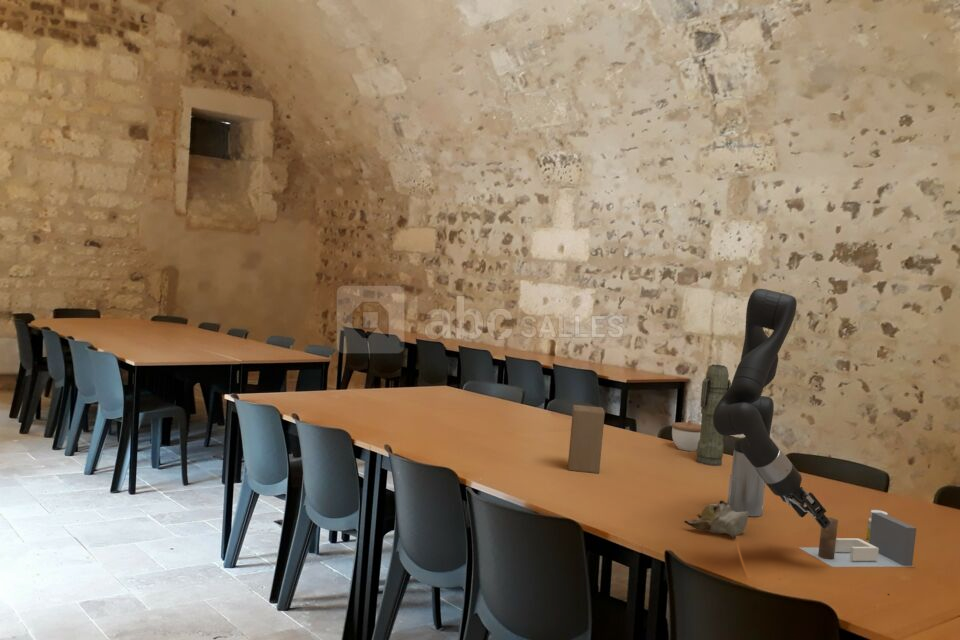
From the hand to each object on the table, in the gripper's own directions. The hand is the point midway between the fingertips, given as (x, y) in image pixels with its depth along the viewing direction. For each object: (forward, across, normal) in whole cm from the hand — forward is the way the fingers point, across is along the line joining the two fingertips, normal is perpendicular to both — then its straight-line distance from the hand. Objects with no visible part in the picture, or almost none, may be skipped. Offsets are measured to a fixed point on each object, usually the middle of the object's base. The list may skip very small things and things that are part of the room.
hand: (815, 520), depth 197 cm
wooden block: (-11, +86, +25) cm, 90 cm away
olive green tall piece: (+26, +99, -12) cm, 103 cm away
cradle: (+14, 0, -2) cm, 15 cm away
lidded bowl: (+28, +121, -14) cm, 125 cm away
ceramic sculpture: (-2, +21, +16) cm, 27 cm away
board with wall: (+15, 0, -1) cm, 16 cm away
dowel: (+9, 0, +4) cm, 10 cm away
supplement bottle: (+27, +13, -12) cm, 32 cm away
